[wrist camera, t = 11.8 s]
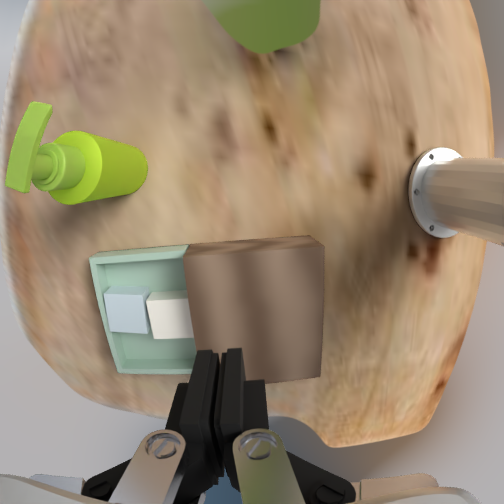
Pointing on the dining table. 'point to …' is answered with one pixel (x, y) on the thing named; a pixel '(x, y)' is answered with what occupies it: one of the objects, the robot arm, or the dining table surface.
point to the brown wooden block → (260, 303)
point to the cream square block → (170, 314)
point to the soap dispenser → (72, 162)
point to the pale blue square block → (127, 309)
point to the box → (158, 280)
